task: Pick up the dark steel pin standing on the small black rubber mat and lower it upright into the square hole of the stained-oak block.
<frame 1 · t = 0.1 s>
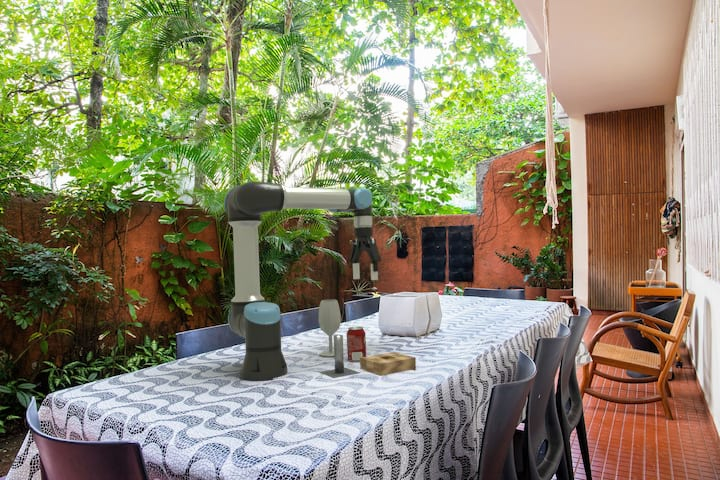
hand: (365, 279, 204), 28 cm above the table, fingers open, 13 cm apart
pin: (339, 372, 164), resting on mat
hole block: (387, 369, 166), on the table
wineglass: (331, 355, 194), on the table
soda can: (357, 361, 181), on the table
mat: (339, 373, 164), on the table
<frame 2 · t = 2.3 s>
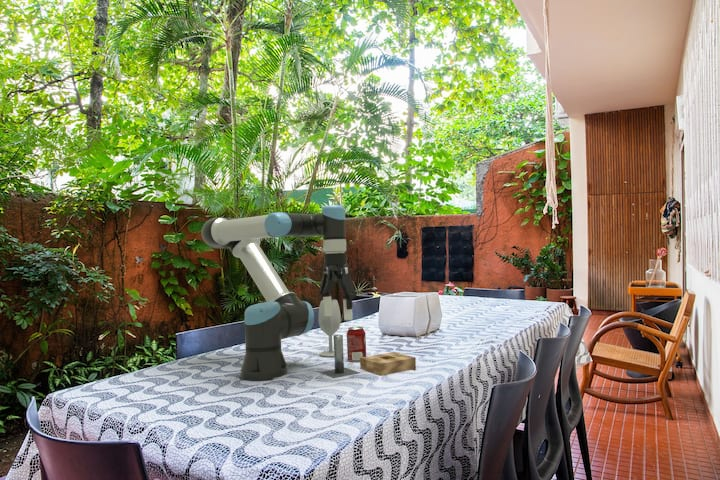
hand: (337, 317, 164), 18 cm above the table, fingers open, 13 cm apart
nothing on the table moved.
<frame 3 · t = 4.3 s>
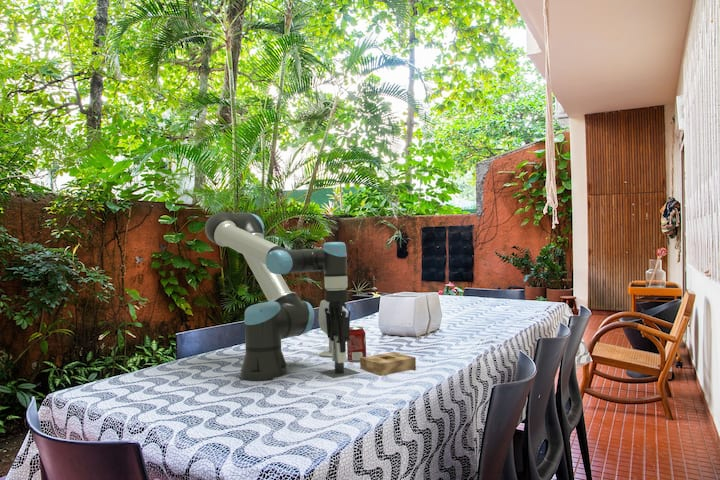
hand: (339, 361, 164), 4 cm above the table, fingers closed on pin, 3 cm apart
pin: (339, 372, 164), resting on mat, touching gripper
everything else where it was.
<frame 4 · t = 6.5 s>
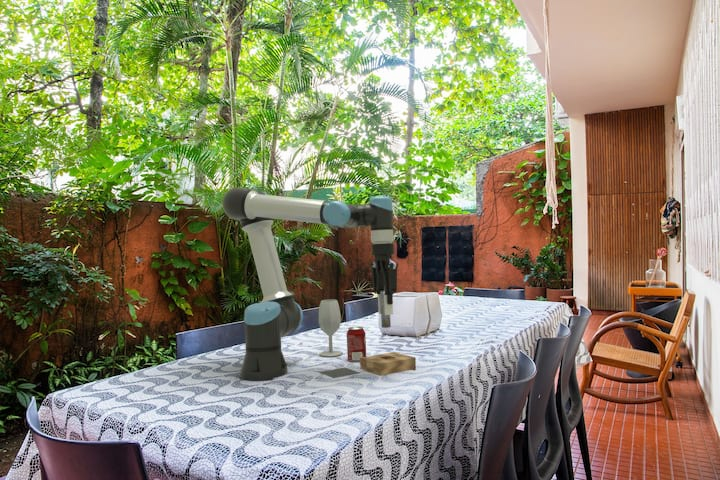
hand: (385, 313, 167), 19 cm above the table, fingers closed on pin, 3 cm apart
pin: (386, 327, 167), point 14 cm above the table, touching gripper
everything else where it was.
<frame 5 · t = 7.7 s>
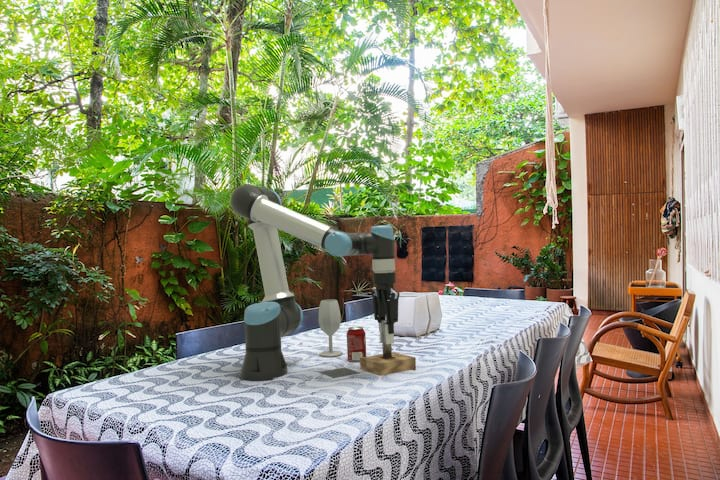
hand: (386, 342, 167), 9 cm above the table, fingers closed on pin, 3 cm apart
pin: (387, 356, 167), point 4 cm above the table, touching gripper
everything else where it was.
when the fingers open (5 cm above the table, at t = 8.7 s): pin stays where it is, resting in hole block.
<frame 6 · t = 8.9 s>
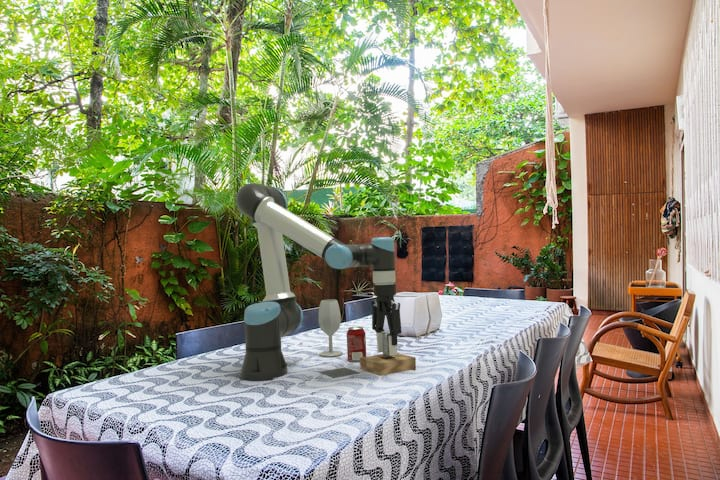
hand: (387, 353, 167), 5 cm above the table, fingers open, 6 cm apart
pin: (387, 369, 166), resting in hole block
everything else where it was.
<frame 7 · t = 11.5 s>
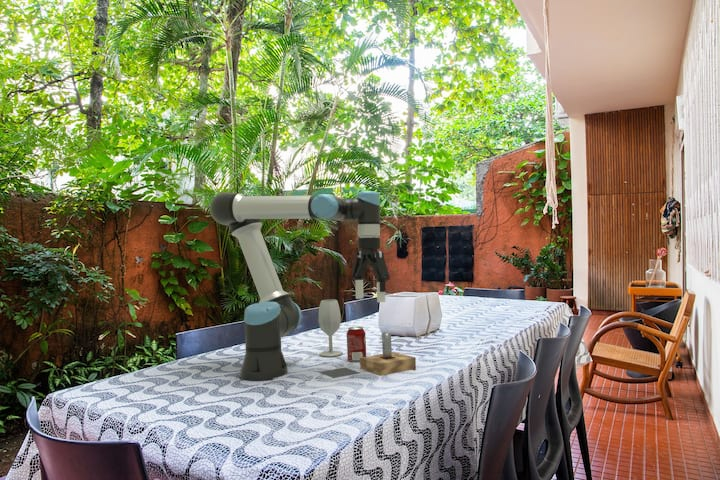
hand: (370, 300, 170), 23 cm above the table, fingers open, 13 cm apart
nothing on the table moved.
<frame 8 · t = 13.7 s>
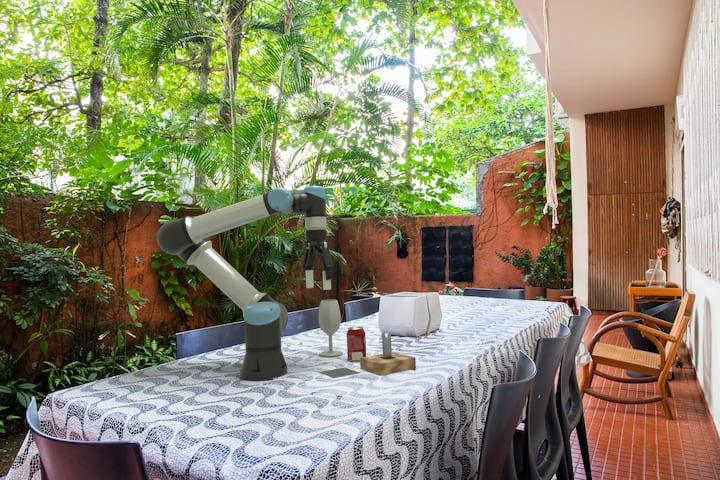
hand: (318, 288, 180), 27 cm above the table, fingers open, 13 cm apart
nothing on the table moved.
at the end: pin 0.1 cm off-centre on the hole block, point 0.0 cm above the hole block's base; pin tilted 0°; the gripper is holding nothing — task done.
